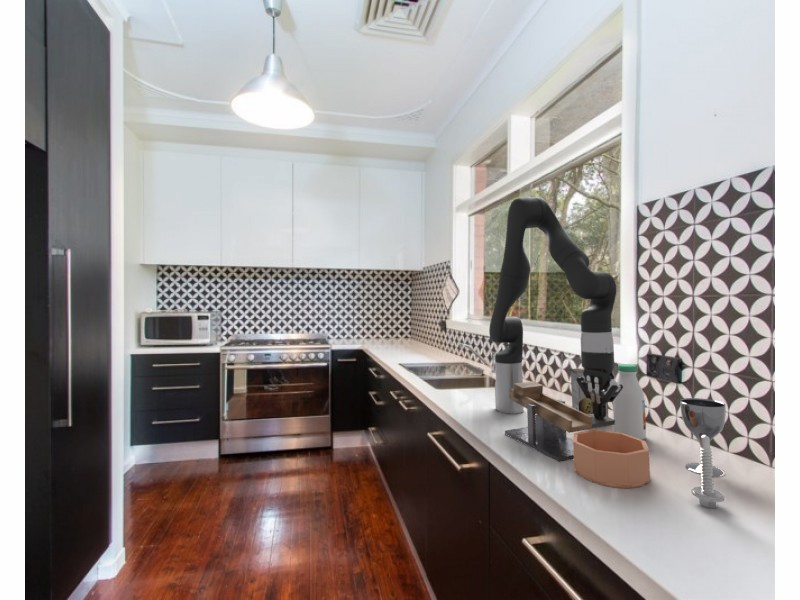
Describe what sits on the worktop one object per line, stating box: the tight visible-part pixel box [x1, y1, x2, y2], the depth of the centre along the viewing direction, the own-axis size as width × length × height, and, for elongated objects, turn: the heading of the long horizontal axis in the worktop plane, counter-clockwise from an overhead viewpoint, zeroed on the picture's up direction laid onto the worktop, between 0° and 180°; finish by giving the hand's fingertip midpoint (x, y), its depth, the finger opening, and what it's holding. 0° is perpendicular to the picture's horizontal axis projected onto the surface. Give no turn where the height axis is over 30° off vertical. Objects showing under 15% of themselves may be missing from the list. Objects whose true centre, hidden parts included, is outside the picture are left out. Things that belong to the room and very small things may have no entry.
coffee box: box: [570, 367, 609, 417], centre depth 124 cm, size 9×6×16 cm
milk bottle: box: [612, 363, 647, 441], centre depth 108 cm, size 8×8×20 cm
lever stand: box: [504, 399, 574, 463], centre depth 105 cm, size 22×12×11 cm, turn 20°
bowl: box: [572, 429, 651, 489], centre depth 86 cm, size 14×14×7 cm
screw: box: [690, 435, 726, 509], centre depth 72 cm, size 13×5×5 cm
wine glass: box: [679, 397, 727, 478], centre depth 86 cm, size 8×8×15 cm
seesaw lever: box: [509, 381, 615, 433], centre depth 106 cm, size 24×15×5 cm, turn 20°
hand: (599, 417), depth 99 cm, fingers closed
